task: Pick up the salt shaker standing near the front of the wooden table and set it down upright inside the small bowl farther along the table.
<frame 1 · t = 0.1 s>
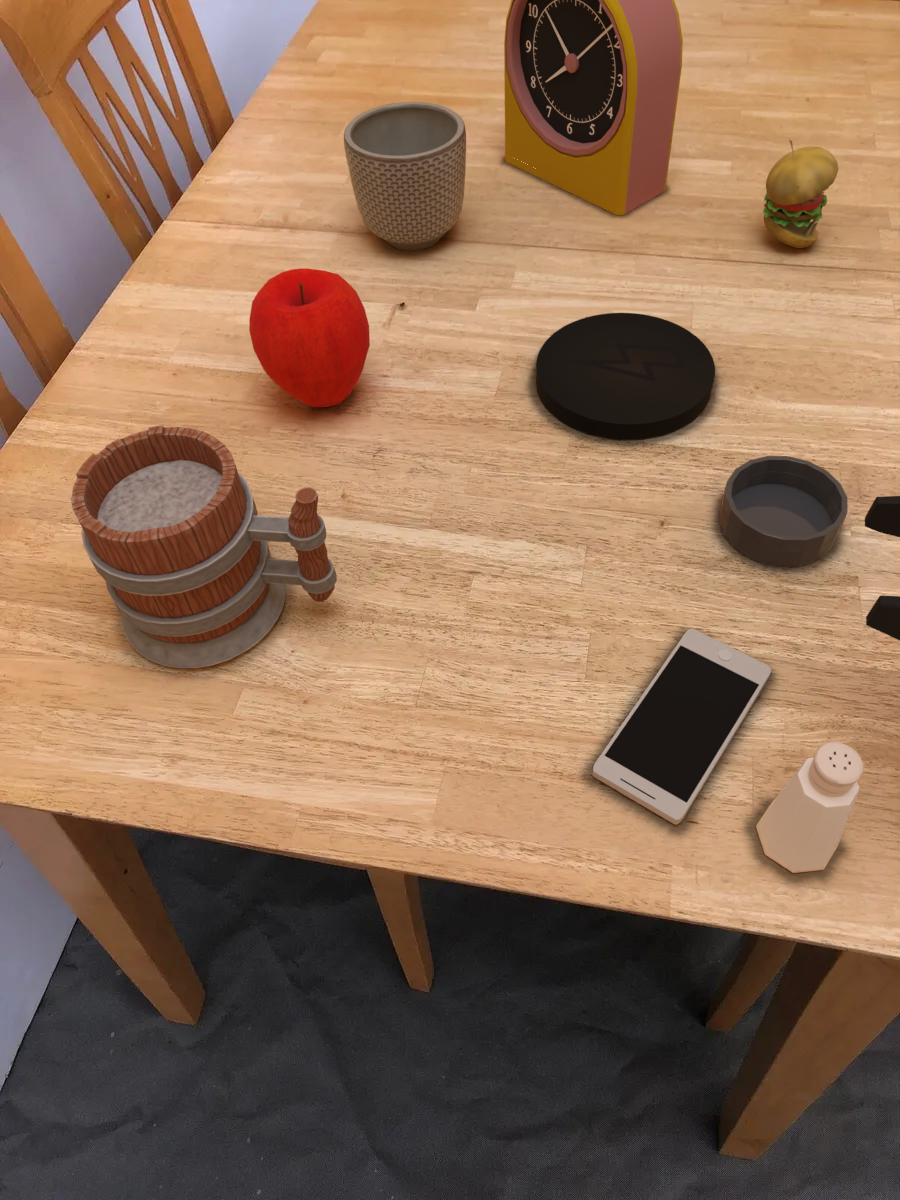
hand: (871, 558, 53), 20 cm above the table, tool horizontal, fingers open, 7 cm apart
wireless charger: (622, 382, 95), on the table
bowl: (777, 524, 82), on the table
smartphone: (683, 724, 70), on the table
planter: (413, 237, 114), on the table
mug: (235, 607, 79), on the table
hamburger: (785, 243, 109), on the table
salt shaker: (795, 838, 64), on the table
alarm clock: (583, 175, 121), on the table
apple: (322, 396, 96), on the table
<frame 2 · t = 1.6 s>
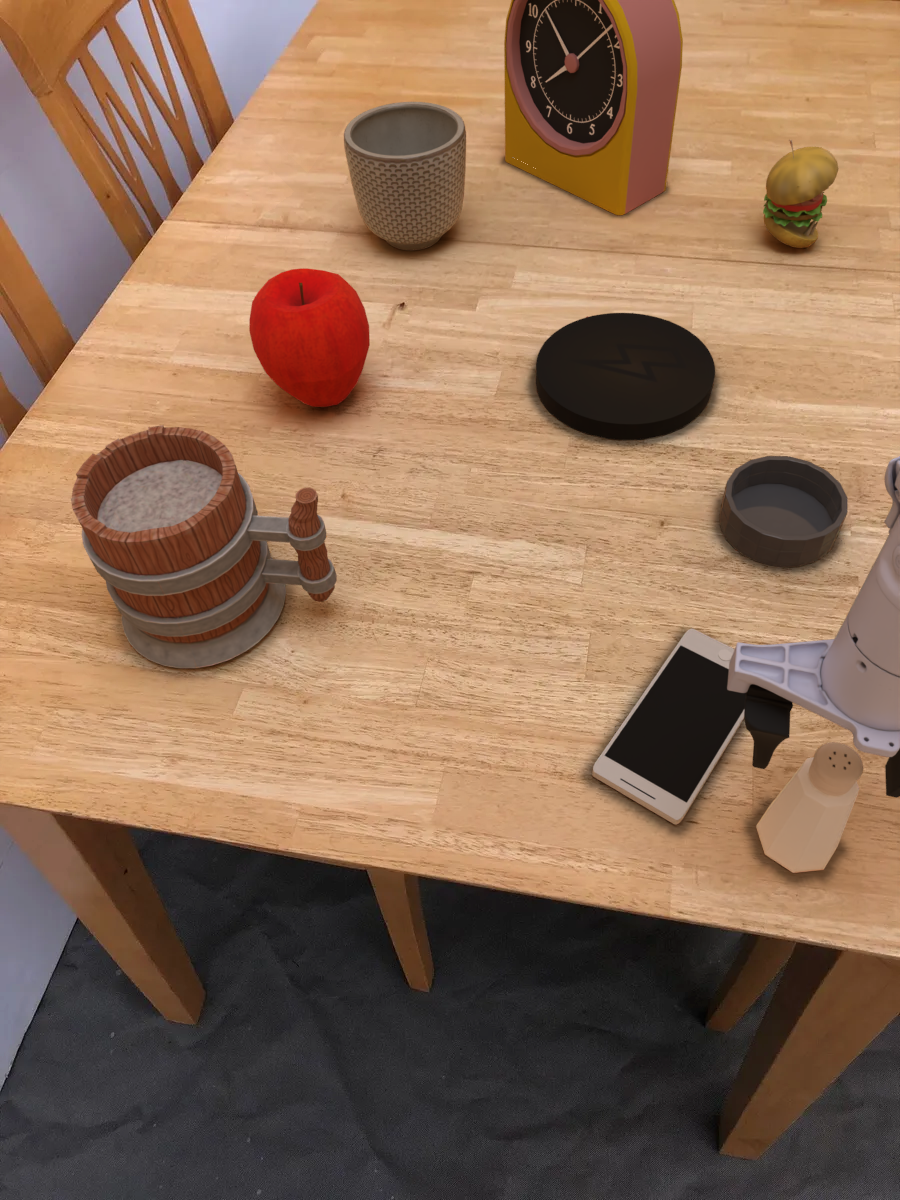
hand: (824, 767, 55), 10 cm above the table, tool pointing down, fingers open, 7 cm apart
nothing on the table moved.
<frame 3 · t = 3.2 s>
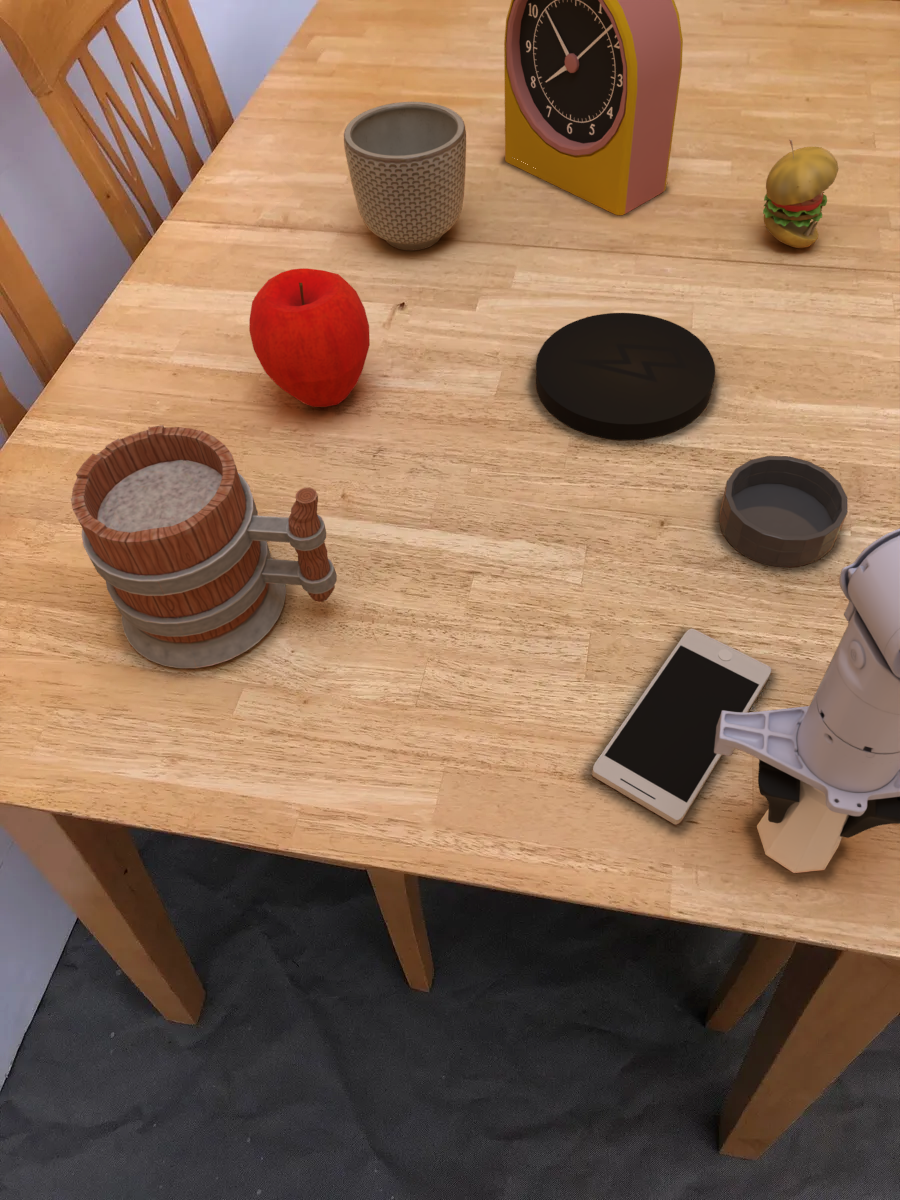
hand: (808, 816, 61), 3 cm above the table, tool pointing down, fingers closed on salt shaker, 4 cm apart
salt shaker: (795, 838, 64), on the table, touching gripper
everything else where it was.
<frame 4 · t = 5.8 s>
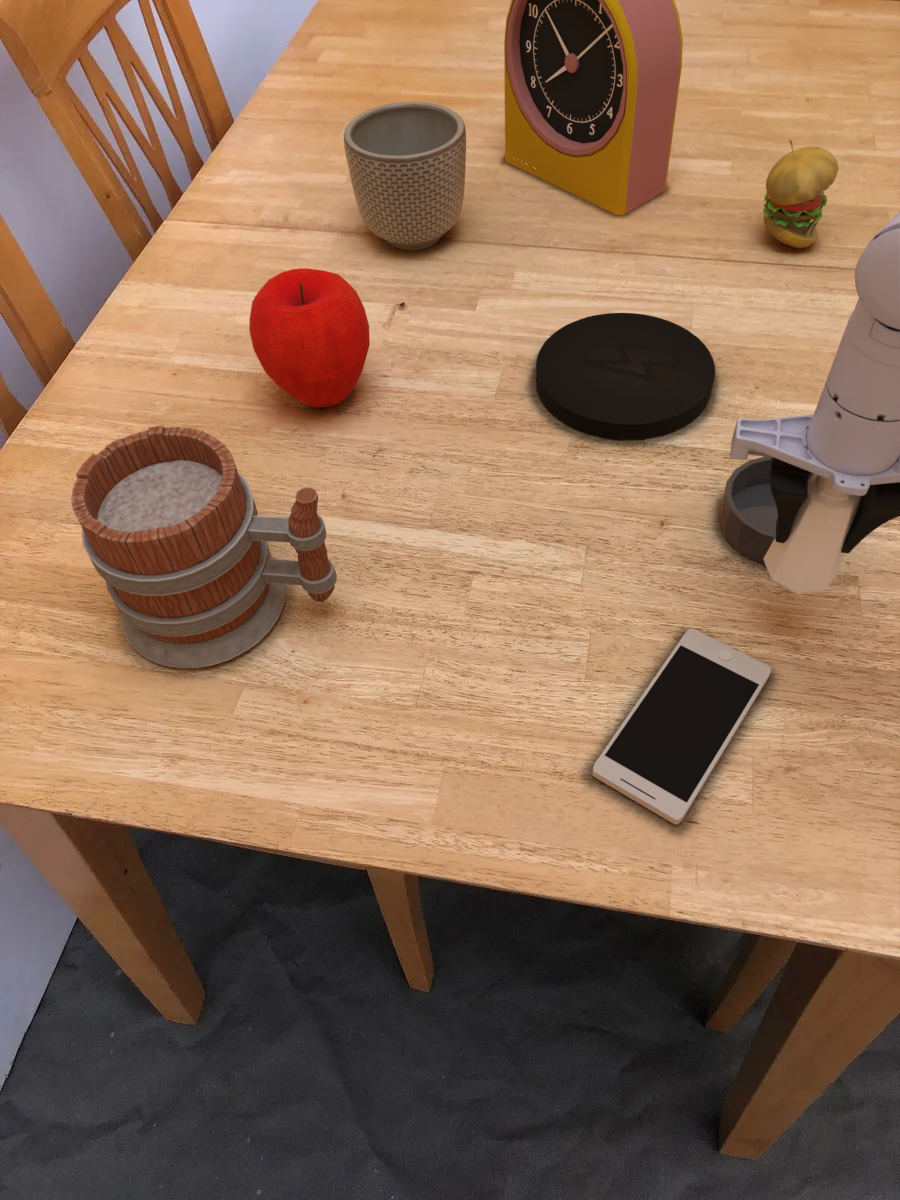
hand: (811, 537, 67), 10 cm above the table, tool pointing down, fingers closed on salt shaker, 4 cm apart
salt shaker: (798, 569, 70), point 7 cm above the table, touching gripper
everything else where it was.
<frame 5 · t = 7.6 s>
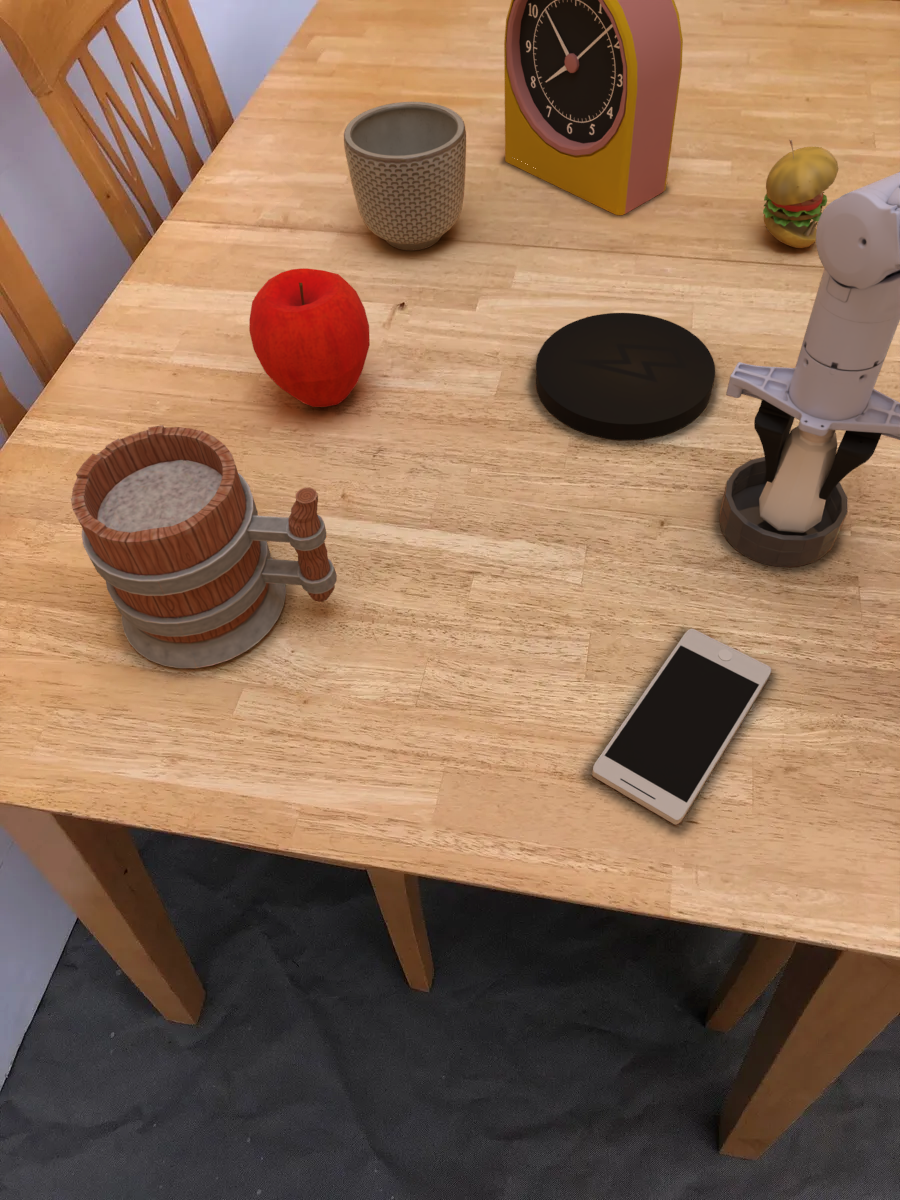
hand: (798, 482, 77), 6 cm above the table, tool pointing down, fingers closed on salt shaker, 4 cm apart
salt shaker: (788, 512, 79), point 2 cm above the table, touching gripper
everything else where it was.
when the fingers open (4 cm above the table, at t = 8.6 s): salt shaker stays where it is, resting on bowl.
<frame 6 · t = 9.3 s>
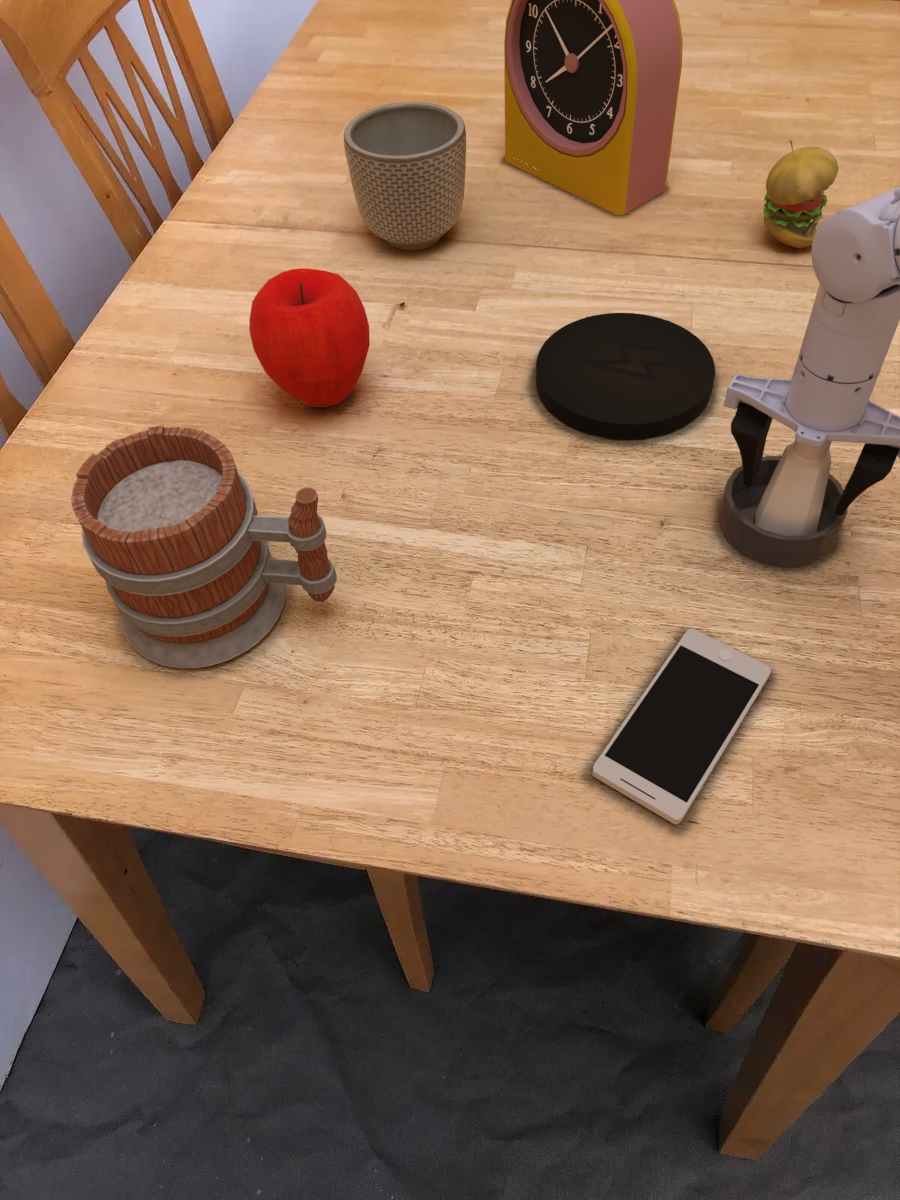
hand: (795, 492, 78), 5 cm above the table, tool pointing down, fingers open, 7 cm apart
salt shaker: (783, 527, 81), resting on bowl
everything else where it was.
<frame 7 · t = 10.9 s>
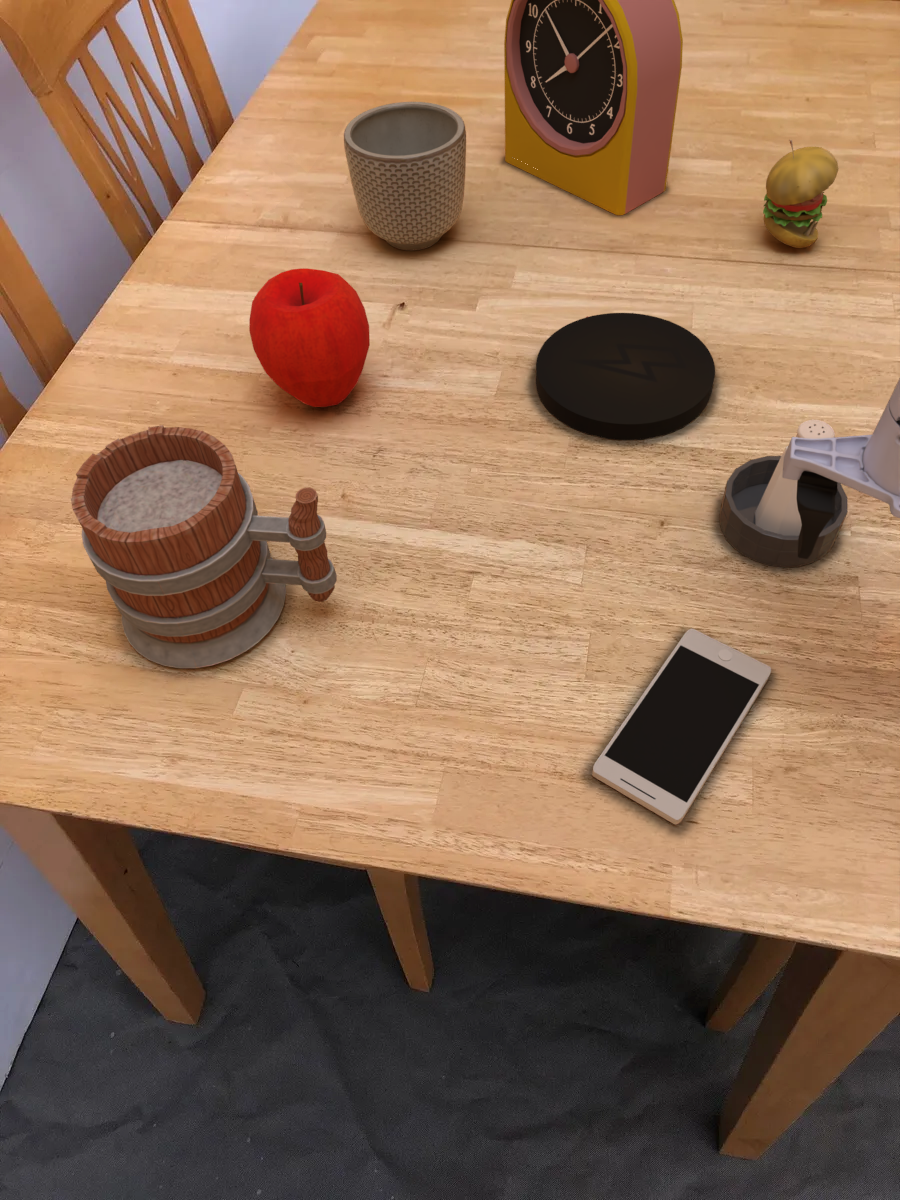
hand: (858, 558, 65), 10 cm above the table, tool pointing down, fingers open, 7 cm apart
nothing on the table moved.
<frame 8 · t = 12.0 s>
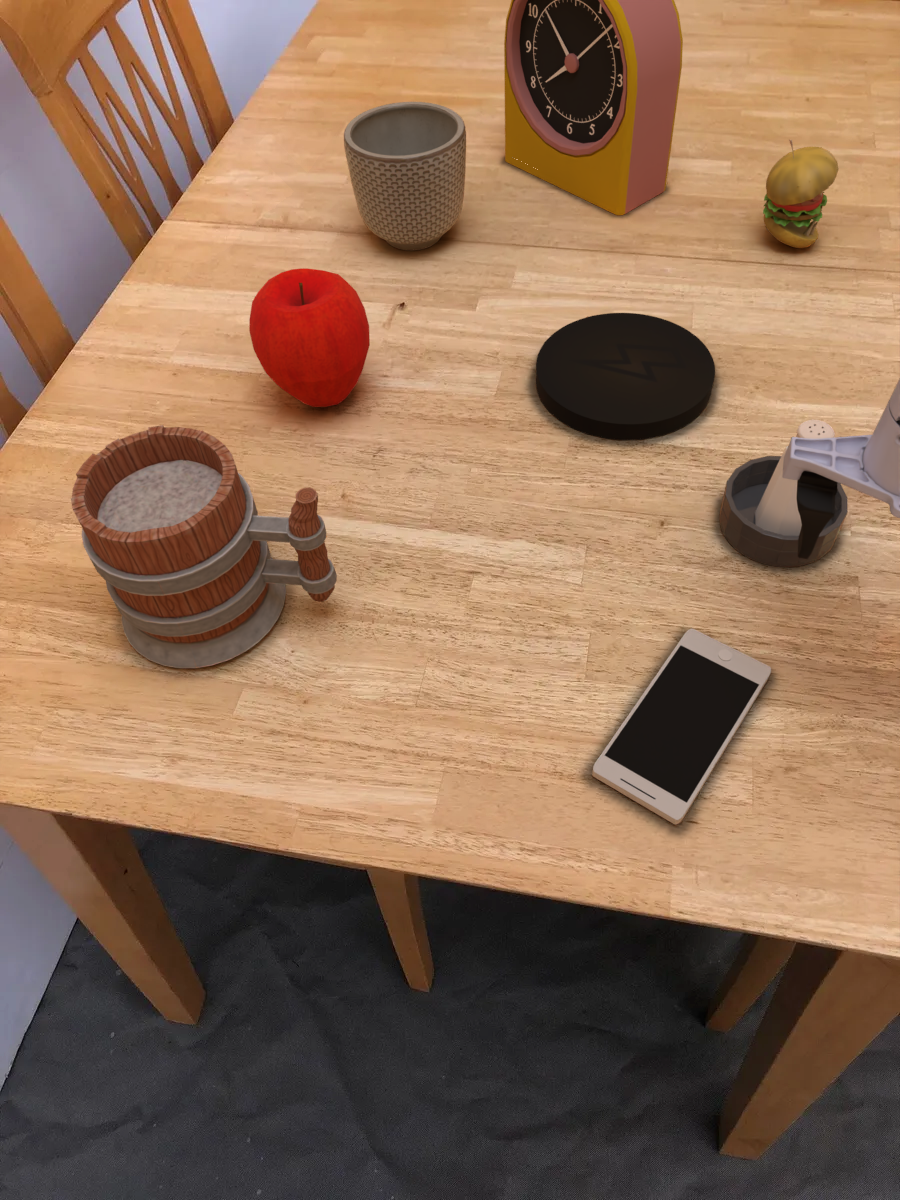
hand: (858, 558, 65), 10 cm above the table, tool pointing down, fingers open, 7 cm apart
nothing on the table moved.
at the end: salt shaker 0.7 cm off-centre in the bowl, point 0.3 cm above the bowl's base; salt shaker tilted 0°; the gripper is holding nothing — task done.
